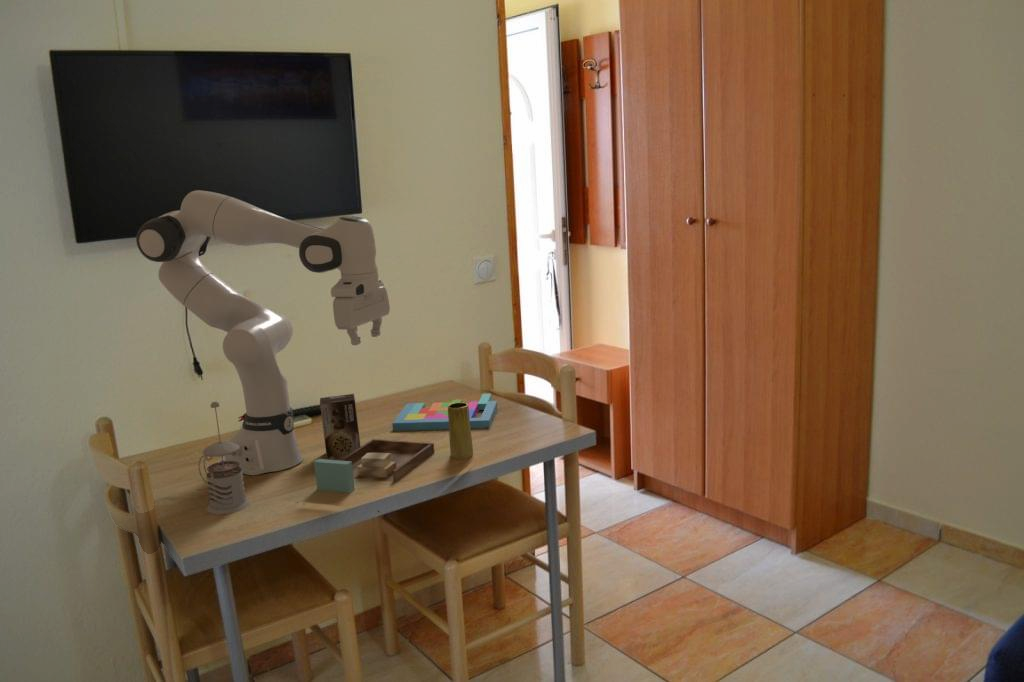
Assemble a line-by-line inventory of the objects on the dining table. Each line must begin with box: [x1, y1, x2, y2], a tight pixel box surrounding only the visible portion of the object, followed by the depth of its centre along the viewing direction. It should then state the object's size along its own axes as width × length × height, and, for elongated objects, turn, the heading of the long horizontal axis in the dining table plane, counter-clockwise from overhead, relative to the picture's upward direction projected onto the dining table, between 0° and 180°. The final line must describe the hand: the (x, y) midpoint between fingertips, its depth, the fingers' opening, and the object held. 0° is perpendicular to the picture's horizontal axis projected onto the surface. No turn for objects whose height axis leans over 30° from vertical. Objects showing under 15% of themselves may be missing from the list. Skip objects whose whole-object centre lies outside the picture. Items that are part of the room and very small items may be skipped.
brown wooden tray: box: [339, 438, 435, 483], centre depth 218 cm, size 18×21×4 cm
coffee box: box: [319, 393, 362, 460], centre depth 227 cm, size 9×6×16 cm
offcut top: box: [361, 453, 391, 467], centre depth 212 cm, size 6×4×2 cm, turn 77°
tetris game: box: [391, 393, 498, 432], centre depth 260 cm, size 28×3×28 cm
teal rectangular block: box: [313, 458, 355, 494], centre depth 202 cm, size 9×2×8 cm, turn 69°
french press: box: [197, 401, 252, 515], centre depth 198 cm, size 10×12×25 cm
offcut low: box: [357, 462, 397, 478], centre depth 212 cm, size 8×5×2 cm, turn 69°
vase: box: [448, 401, 474, 460], centre depth 220 cm, size 6×6×14 cm
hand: (366, 340), depth 211 cm, fingers open, 8 cm apart
